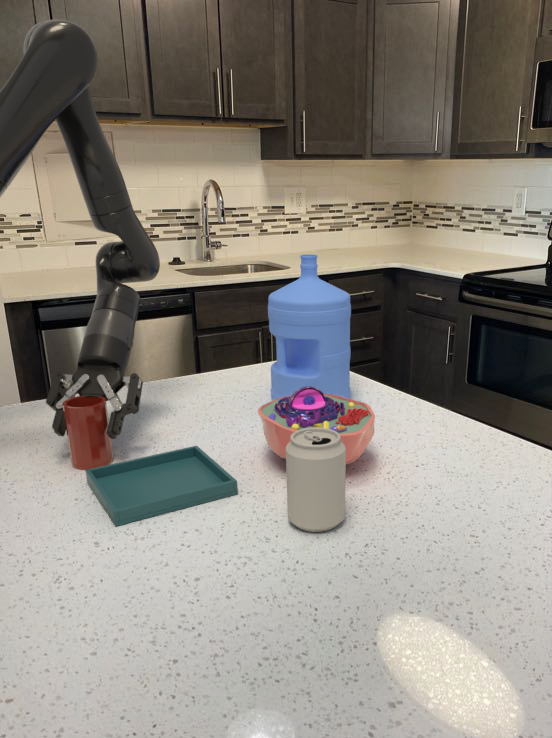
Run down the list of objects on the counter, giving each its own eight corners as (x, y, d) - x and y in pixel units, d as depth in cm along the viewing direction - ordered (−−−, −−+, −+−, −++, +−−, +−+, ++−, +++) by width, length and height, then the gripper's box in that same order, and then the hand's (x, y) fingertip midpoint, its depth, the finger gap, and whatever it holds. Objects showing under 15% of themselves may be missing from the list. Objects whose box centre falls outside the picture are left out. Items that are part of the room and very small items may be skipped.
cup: (77, 473, 100) (67, 410, 97) (68, 459, 105) (58, 399, 102) (117, 464, 103) (110, 403, 100) (107, 450, 108) (99, 392, 105)
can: (317, 541, 81) (317, 451, 77) (275, 521, 86) (272, 435, 82) (357, 519, 86) (358, 433, 82) (314, 501, 91) (313, 419, 87)
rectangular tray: (115, 526, 85) (113, 512, 84) (87, 482, 97) (85, 469, 96) (238, 494, 93) (237, 480, 93) (197, 457, 105) (196, 445, 105)
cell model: (291, 498, 92) (289, 422, 88) (246, 447, 109) (243, 381, 105) (397, 476, 98) (400, 404, 94) (339, 431, 115) (339, 369, 111)
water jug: (320, 384, 141) (319, 248, 131) (366, 403, 129) (369, 256, 119) (256, 397, 133) (250, 254, 123) (298, 419, 121) (295, 263, 111)
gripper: (55, 330, 105) (29, 423, 99) (141, 332, 104) (120, 427, 97) (76, 354, 112) (52, 443, 106) (157, 356, 110) (138, 446, 104)
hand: (85, 435), depth 101 cm, fingers open, 8 cm apart
